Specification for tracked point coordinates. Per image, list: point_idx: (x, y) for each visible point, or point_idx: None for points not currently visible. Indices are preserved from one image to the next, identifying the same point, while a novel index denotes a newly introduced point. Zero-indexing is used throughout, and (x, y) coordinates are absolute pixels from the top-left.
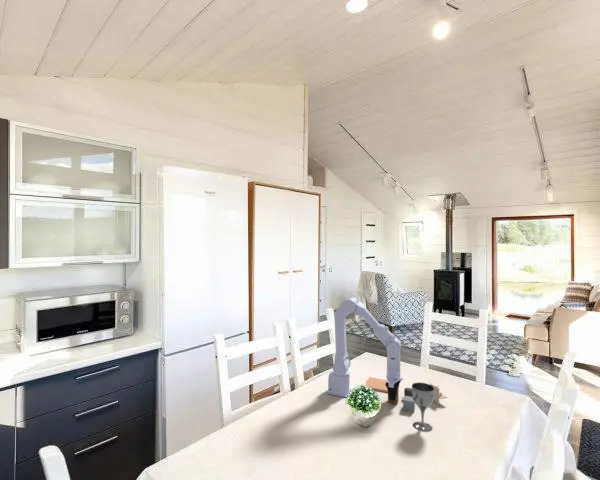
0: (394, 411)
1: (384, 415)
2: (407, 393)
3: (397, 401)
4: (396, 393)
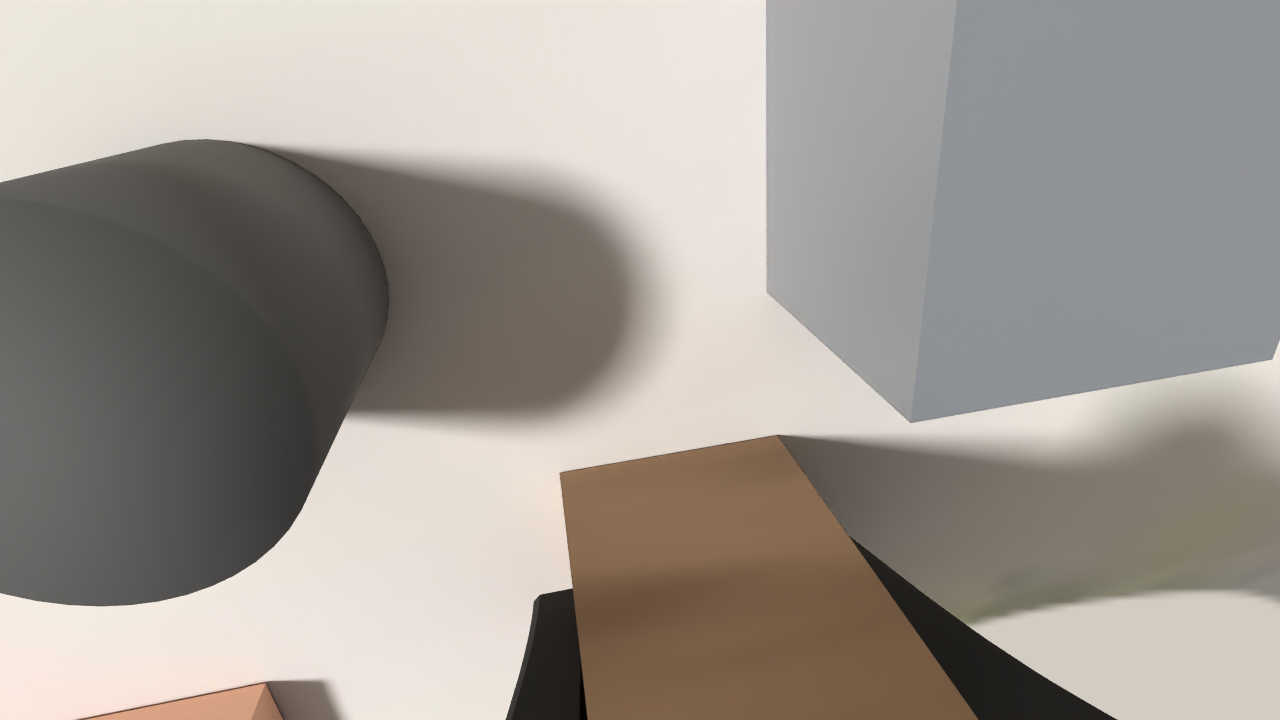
0: (1094, 392)
1: (1258, 482)
2: (343, 388)
3: (772, 474)
4: (916, 661)
